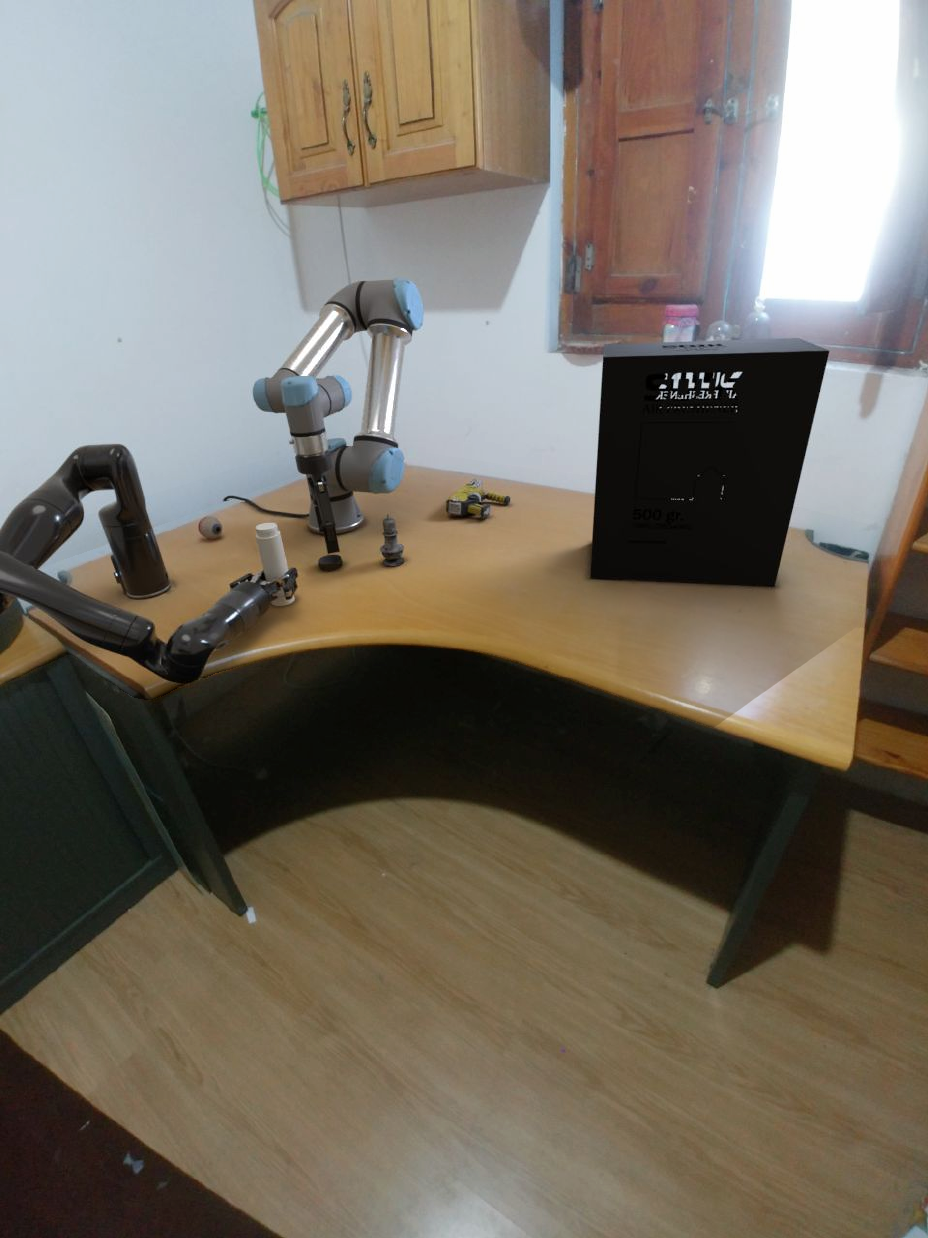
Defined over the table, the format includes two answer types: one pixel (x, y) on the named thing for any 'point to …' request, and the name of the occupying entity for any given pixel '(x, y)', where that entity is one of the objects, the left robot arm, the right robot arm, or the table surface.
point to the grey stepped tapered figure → (391, 544)
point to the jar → (272, 556)
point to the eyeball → (210, 527)
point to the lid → (330, 562)
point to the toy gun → (473, 500)
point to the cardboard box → (701, 458)
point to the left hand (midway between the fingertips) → (283, 570)
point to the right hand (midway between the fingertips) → (329, 541)
